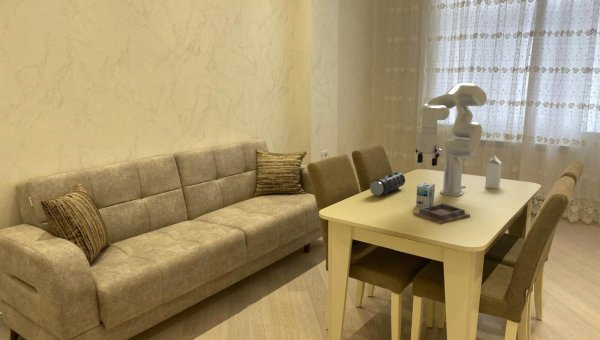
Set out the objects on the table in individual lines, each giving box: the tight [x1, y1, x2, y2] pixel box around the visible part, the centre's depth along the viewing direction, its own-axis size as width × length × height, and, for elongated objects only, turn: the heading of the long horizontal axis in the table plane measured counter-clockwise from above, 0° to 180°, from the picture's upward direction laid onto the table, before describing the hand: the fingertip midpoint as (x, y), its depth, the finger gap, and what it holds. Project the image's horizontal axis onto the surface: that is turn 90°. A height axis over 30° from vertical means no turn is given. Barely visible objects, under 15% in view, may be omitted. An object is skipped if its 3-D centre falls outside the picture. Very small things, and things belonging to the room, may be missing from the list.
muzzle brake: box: [369, 171, 406, 197], centre depth 252 cm, size 10×28×10 cm, turn 142°
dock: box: [413, 203, 471, 225], centre depth 210 cm, size 20×17×4 cm
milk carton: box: [484, 155, 503, 189], centre depth 263 cm, size 7×7×19 cm
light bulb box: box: [415, 181, 436, 208], centre depth 228 cm, size 11×7×11 cm, turn 148°
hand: (426, 164), depth 225 cm, fingers open, 9 cm apart
